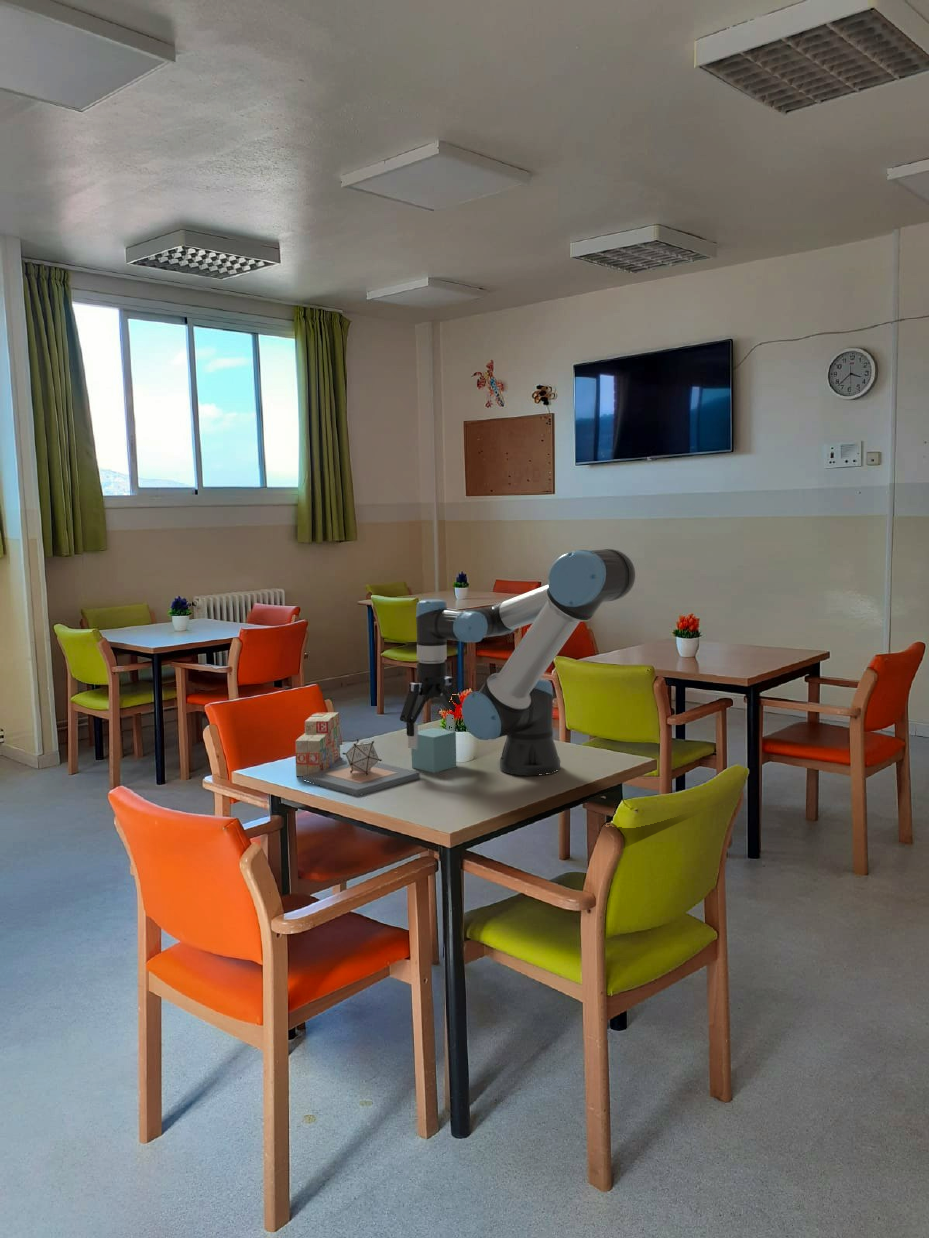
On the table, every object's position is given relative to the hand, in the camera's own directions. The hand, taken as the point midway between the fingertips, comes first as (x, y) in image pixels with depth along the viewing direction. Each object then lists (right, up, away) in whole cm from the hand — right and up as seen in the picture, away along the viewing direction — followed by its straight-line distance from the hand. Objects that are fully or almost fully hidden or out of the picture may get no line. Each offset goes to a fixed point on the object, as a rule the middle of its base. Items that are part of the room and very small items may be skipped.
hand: (432, 743), depth 244 cm
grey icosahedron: (-17, -6, -11) cm, 21 cm away
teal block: (0, -6, 0) cm, 6 cm away
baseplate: (-17, -7, -11) cm, 21 cm away
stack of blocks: (-29, -7, +3) cm, 30 cm away
